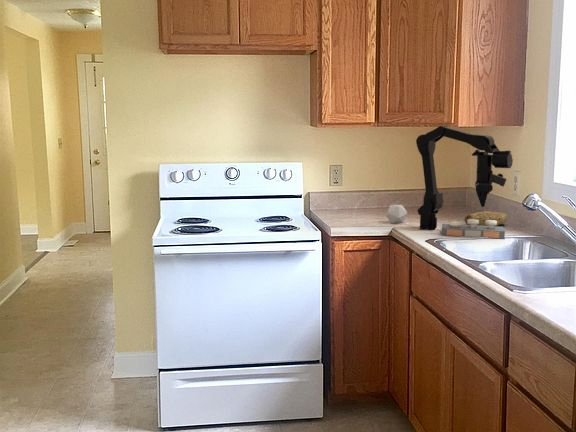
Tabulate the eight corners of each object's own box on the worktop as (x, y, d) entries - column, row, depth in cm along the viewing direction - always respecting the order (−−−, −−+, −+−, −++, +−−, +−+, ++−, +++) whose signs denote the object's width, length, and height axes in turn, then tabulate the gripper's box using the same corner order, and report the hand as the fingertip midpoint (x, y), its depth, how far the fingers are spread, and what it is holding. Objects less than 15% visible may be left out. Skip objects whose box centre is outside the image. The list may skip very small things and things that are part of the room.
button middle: (466, 230, 263) (467, 220, 263) (466, 228, 268) (467, 218, 267) (478, 231, 262) (478, 221, 262) (478, 229, 267) (478, 219, 266)
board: (441, 235, 263) (441, 228, 262) (441, 230, 274) (442, 223, 273) (504, 239, 257) (505, 231, 257) (502, 234, 268) (503, 226, 267)
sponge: (474, 232, 279) (518, 221, 282) (470, 214, 279) (514, 203, 282) (462, 232, 292) (503, 222, 295) (458, 215, 292) (500, 205, 295)
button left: (448, 232, 265) (449, 222, 265) (448, 230, 270) (449, 221, 269) (460, 233, 264) (460, 223, 264) (459, 231, 269) (460, 221, 268)
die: (404, 222, 297) (392, 204, 298) (414, 215, 289) (401, 196, 290) (391, 231, 293) (378, 212, 294) (401, 224, 285) (388, 205, 286)
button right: (485, 231, 262) (485, 221, 261) (484, 229, 266) (485, 219, 265) (496, 232, 261) (497, 222, 260) (496, 230, 265) (496, 220, 264)
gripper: (507, 169, 249) (505, 210, 251) (504, 166, 267) (502, 204, 269) (476, 169, 252) (475, 209, 254) (475, 165, 270) (474, 203, 272)
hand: (482, 206), depth 262 cm, fingers closed
